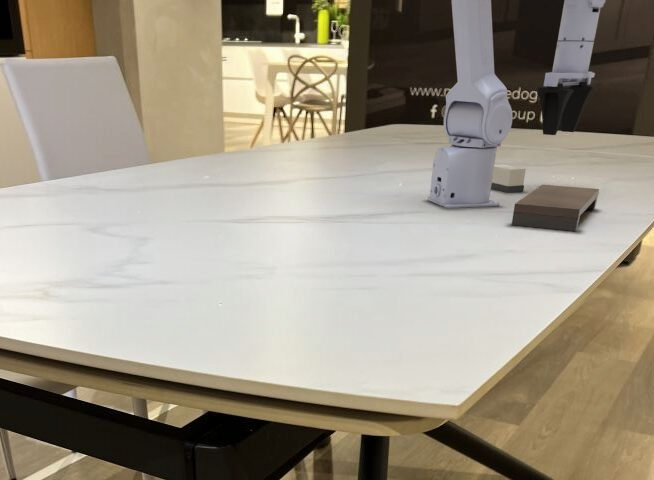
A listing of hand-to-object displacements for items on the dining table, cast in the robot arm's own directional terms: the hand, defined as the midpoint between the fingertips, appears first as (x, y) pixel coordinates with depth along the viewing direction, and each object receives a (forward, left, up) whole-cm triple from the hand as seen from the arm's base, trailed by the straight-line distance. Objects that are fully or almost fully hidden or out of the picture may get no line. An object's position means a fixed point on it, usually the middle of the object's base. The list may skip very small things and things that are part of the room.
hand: (558, 133), depth 129 cm
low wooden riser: (-11, -21, -10) cm, 26 cm away
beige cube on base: (-6, +5, -10) cm, 13 cm away
